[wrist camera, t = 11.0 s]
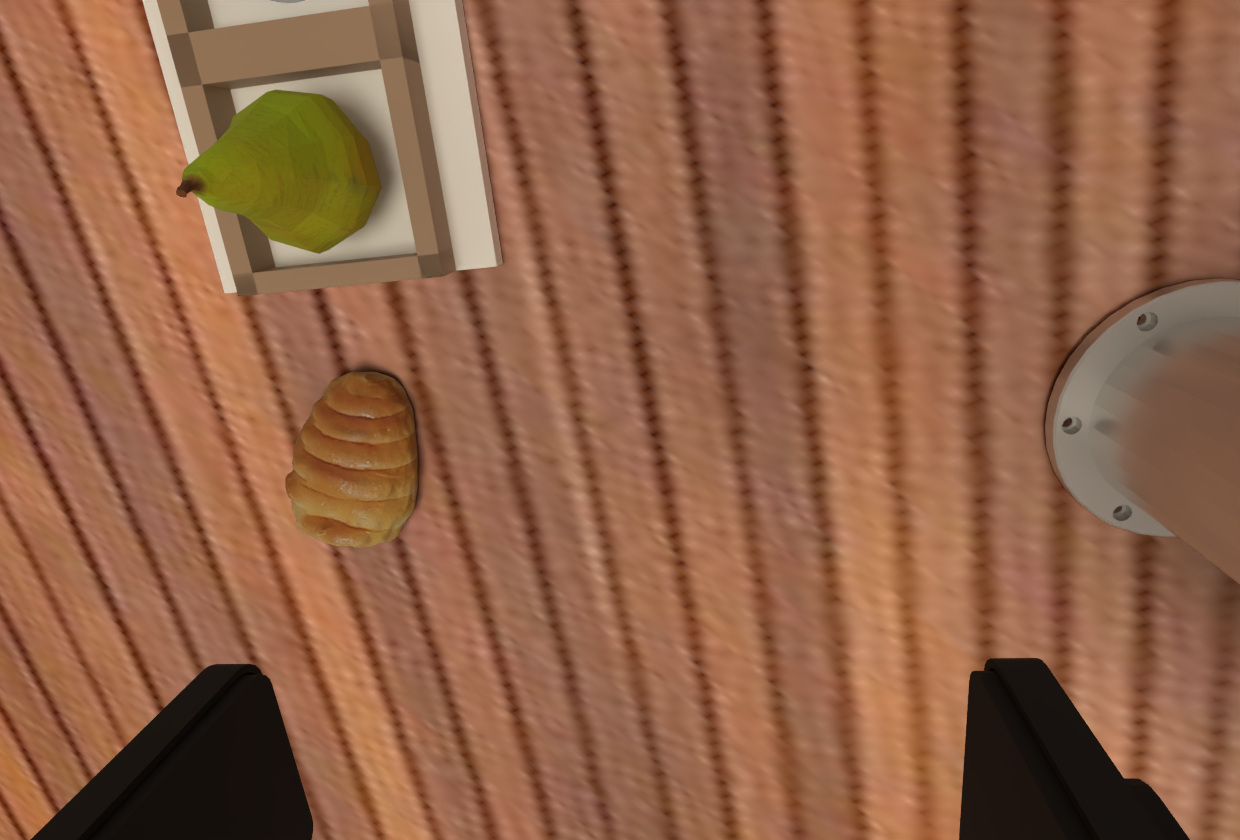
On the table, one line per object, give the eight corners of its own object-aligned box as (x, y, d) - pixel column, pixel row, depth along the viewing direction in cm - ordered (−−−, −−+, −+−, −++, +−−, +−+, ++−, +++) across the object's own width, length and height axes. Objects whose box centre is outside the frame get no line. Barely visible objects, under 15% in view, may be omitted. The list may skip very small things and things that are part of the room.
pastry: (320, 349, 38) (282, 369, 34) (443, 385, 38) (418, 407, 34) (300, 503, 41) (264, 535, 38) (414, 535, 41) (388, 571, 38)
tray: (424, -240, 29) (393, -287, 26) (503, 263, 35) (485, 272, 32) (110, -180, 31) (46, -218, 28) (239, 289, 37) (199, 300, 34)
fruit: (268, 90, 33) (43, 49, 21) (402, 107, 32) (246, 73, 21) (274, 235, 35) (74, 266, 23) (400, 251, 34) (257, 292, 23)
